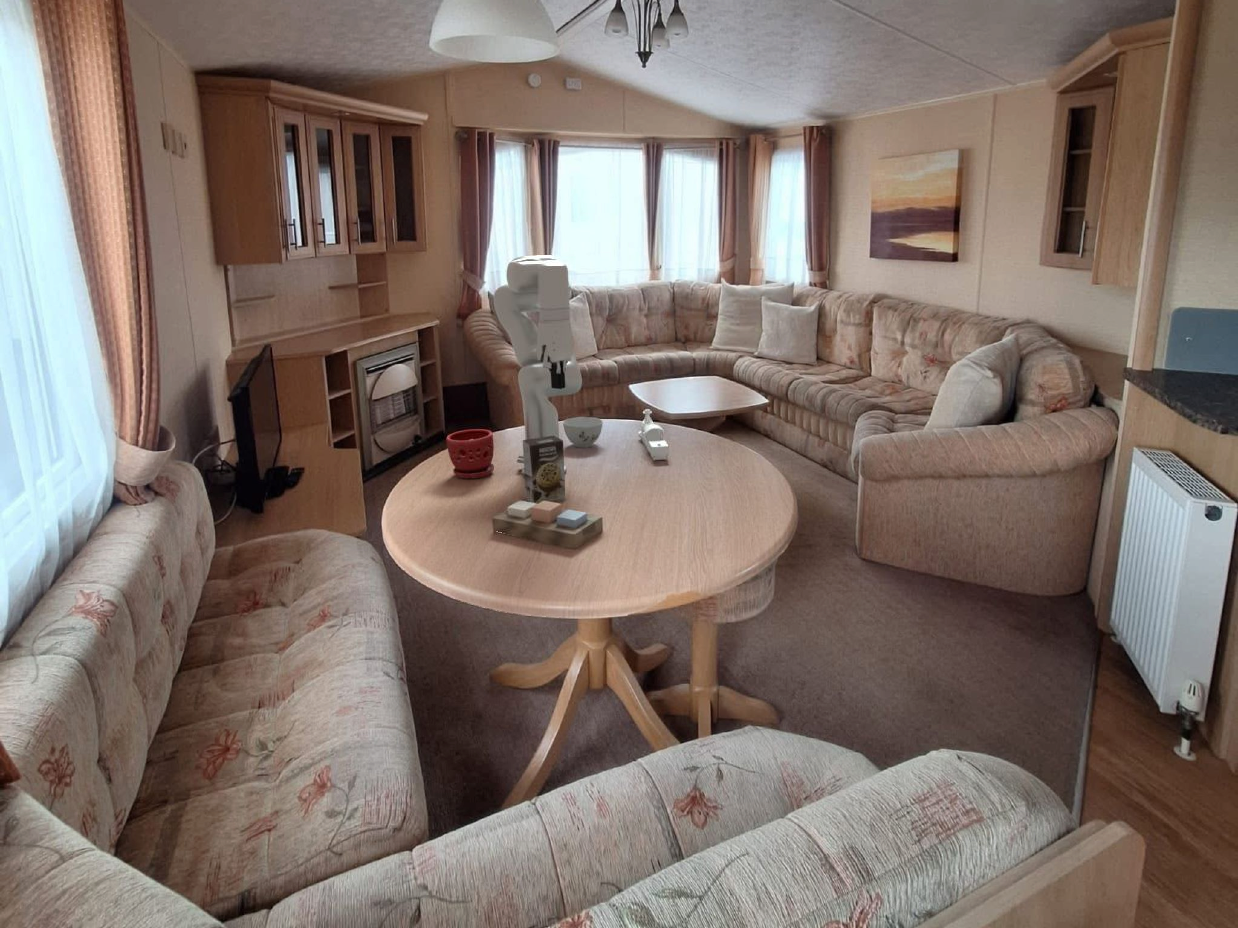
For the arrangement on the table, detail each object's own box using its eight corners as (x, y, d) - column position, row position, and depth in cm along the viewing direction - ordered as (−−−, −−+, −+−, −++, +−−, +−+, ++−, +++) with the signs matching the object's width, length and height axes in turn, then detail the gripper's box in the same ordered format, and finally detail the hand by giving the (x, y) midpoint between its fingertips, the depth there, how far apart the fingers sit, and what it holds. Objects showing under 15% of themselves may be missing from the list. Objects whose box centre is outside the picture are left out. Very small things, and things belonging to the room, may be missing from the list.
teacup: (606, 449, 254) (605, 424, 251) (566, 452, 252) (565, 427, 249) (599, 436, 268) (598, 413, 265) (561, 439, 266) (560, 415, 264)
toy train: (654, 434, 269) (654, 405, 266) (671, 462, 241) (671, 429, 237) (635, 436, 268) (634, 406, 265) (650, 463, 240) (649, 430, 237)
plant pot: (495, 465, 241) (492, 426, 238) (496, 479, 229) (493, 438, 225) (450, 469, 239) (446, 429, 235) (449, 483, 227) (445, 442, 223)
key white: (508, 520, 193) (507, 507, 192) (521, 513, 198) (520, 500, 197) (525, 524, 191) (524, 510, 190) (537, 517, 195) (537, 503, 194)
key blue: (557, 530, 187) (556, 516, 186) (569, 523, 191) (568, 509, 190) (575, 534, 184) (575, 520, 183) (587, 526, 188) (586, 512, 187)
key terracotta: (532, 521, 190) (531, 507, 189) (544, 514, 194) (543, 500, 193) (550, 524, 187) (549, 510, 186) (562, 517, 191) (561, 503, 190)
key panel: (493, 531, 192) (492, 517, 191) (523, 515, 202) (522, 501, 201) (575, 549, 181) (574, 534, 180) (602, 530, 191) (602, 516, 190)
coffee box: (534, 506, 208) (530, 445, 203) (525, 498, 213) (521, 439, 208) (566, 499, 212) (563, 440, 207) (557, 492, 217) (553, 434, 212)
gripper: (558, 310, 208) (562, 381, 213) (524, 318, 196) (529, 392, 201) (583, 311, 204) (586, 383, 210) (550, 319, 192) (554, 395, 198)
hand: (558, 387), depth 205 cm, fingers closed
